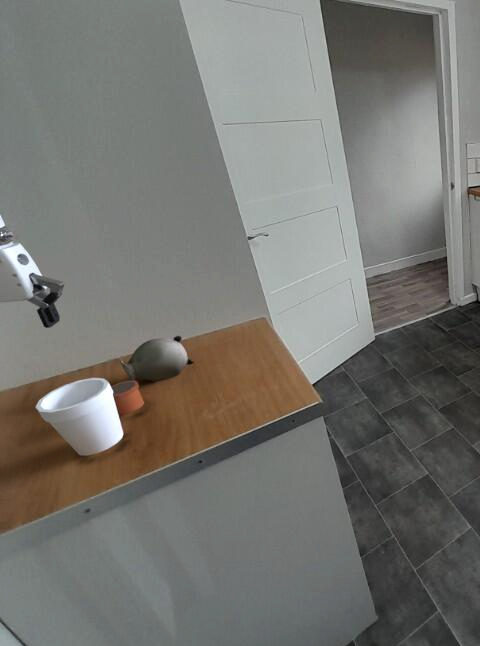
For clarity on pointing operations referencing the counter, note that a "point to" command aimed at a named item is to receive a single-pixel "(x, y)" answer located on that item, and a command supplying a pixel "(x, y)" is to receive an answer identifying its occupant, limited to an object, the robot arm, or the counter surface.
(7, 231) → the robot arm
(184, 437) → the counter surface
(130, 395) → the pot
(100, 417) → the foam cup
